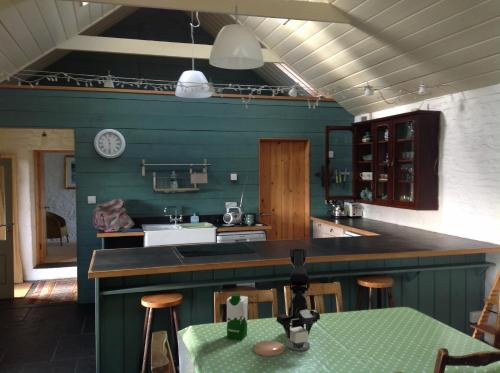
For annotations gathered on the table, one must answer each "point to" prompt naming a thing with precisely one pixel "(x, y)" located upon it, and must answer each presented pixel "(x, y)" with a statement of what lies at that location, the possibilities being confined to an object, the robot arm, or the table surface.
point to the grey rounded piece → (298, 346)
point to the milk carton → (237, 317)
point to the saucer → (269, 348)
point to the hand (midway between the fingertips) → (298, 336)
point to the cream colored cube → (298, 335)
